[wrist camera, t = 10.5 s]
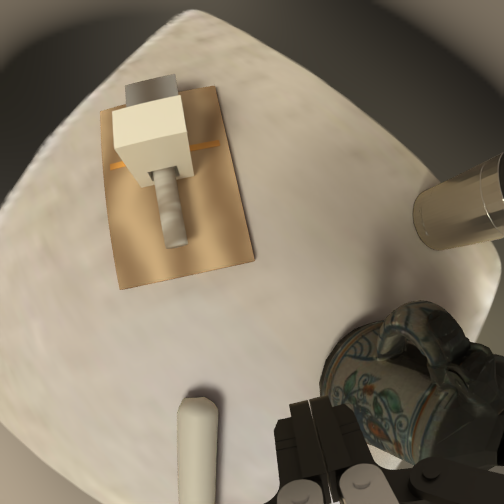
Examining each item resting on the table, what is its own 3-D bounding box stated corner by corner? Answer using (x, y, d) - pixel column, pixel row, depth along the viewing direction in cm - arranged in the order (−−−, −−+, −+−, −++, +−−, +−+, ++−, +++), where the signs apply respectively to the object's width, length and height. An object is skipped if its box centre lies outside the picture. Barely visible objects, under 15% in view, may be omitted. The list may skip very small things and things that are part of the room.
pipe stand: (214, 90, 39) (215, 58, 32) (253, 261, 37) (262, 255, 30) (102, 115, 37) (86, 87, 30) (122, 289, 35) (102, 289, 28)
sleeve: (188, 146, 36) (180, 94, 25) (194, 176, 36) (186, 131, 25) (137, 157, 35) (112, 111, 24) (141, 187, 35) (114, 148, 24)
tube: (167, 399, 31) (173, 545, 28) (213, 408, 30) (209, 555, 27) (186, 387, 36) (187, 526, 33) (227, 394, 35) (220, 535, 32)
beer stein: (377, 447, 37) (486, 536, 12) (271, 392, 36) (348, 522, 11) (438, 352, 39) (576, 381, 14) (345, 281, 39) (503, 267, 14)
